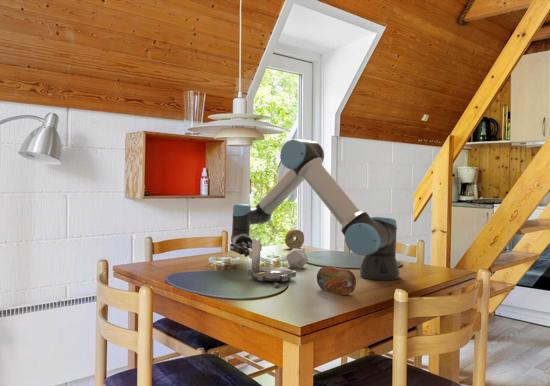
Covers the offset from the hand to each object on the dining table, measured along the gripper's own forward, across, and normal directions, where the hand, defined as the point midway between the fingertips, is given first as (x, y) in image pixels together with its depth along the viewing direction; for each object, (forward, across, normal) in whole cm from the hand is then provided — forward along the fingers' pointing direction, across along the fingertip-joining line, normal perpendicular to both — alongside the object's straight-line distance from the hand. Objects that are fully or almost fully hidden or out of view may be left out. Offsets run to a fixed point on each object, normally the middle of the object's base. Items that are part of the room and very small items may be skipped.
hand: (251, 255), depth 177 cm
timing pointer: (+11, -7, -9) cm, 16 cm away
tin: (+21, -26, -9) cm, 34 cm away
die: (-21, -22, -10) cm, 32 cm away
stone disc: (-70, -33, -10) cm, 78 cm away
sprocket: (0, -8, -8) cm, 11 cm away
